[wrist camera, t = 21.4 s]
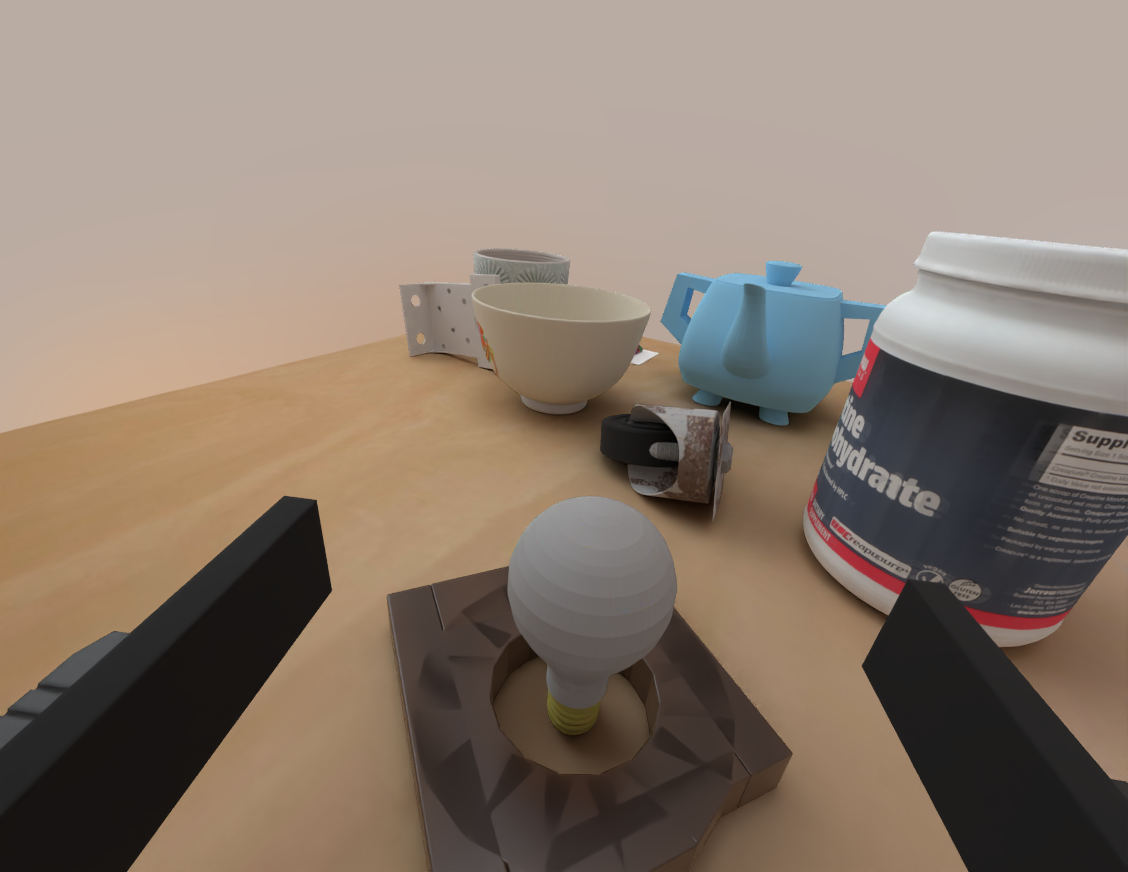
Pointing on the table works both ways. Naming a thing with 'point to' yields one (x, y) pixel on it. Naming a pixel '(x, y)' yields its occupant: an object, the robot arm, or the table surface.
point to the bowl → (558, 340)
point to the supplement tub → (985, 435)
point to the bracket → (445, 317)
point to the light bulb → (589, 599)
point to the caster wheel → (671, 450)
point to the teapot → (764, 339)
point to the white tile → (642, 355)
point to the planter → (522, 266)
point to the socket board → (542, 796)
